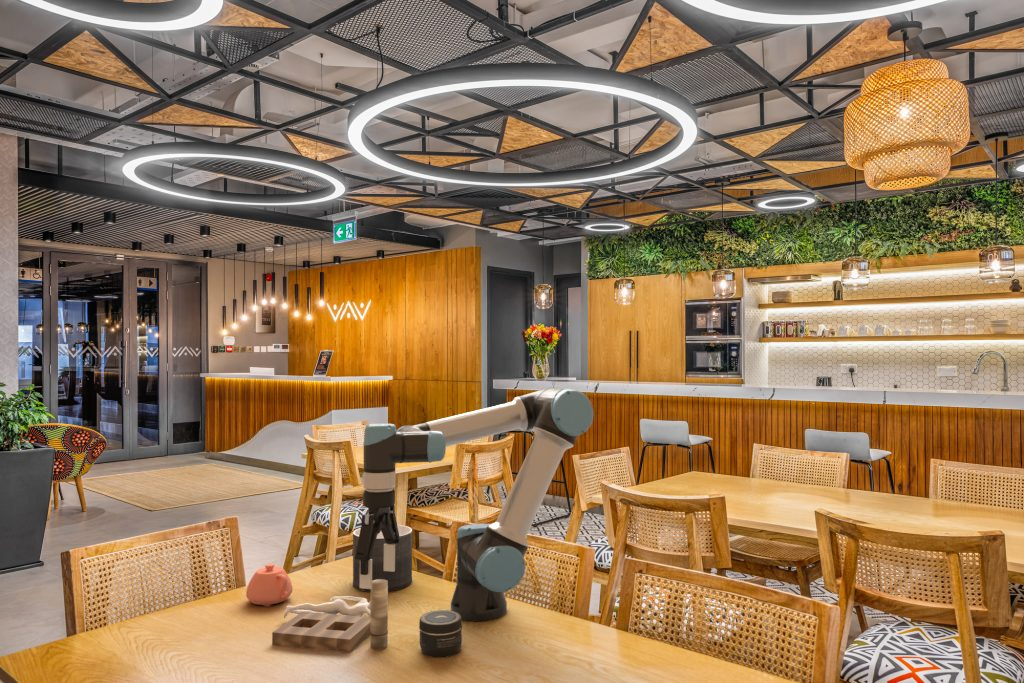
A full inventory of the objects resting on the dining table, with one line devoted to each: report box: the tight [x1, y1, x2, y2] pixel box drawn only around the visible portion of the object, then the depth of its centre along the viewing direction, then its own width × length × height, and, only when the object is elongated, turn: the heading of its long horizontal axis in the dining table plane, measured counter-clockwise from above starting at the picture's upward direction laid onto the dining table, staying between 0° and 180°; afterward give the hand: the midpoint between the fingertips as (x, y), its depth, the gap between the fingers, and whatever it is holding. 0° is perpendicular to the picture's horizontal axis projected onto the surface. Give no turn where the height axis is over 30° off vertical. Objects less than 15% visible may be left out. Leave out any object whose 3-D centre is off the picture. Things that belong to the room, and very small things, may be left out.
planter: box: [352, 524, 413, 593], centre depth 211 cm, size 18×18×16 cm
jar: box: [418, 609, 463, 659], centre depth 162 cm, size 10×10×8 cm
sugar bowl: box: [245, 563, 293, 607], centre depth 195 cm, size 12×14×10 cm
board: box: [271, 612, 370, 653], centre depth 169 cm, size 20×14×3 cm
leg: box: [369, 579, 389, 650], centre depth 164 cm, size 4×4×15 cm
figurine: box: [283, 595, 370, 619], centre depth 181 cm, size 8×6×25 cm
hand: (377, 579), depth 164 cm, fingers open, 13 cm apart
